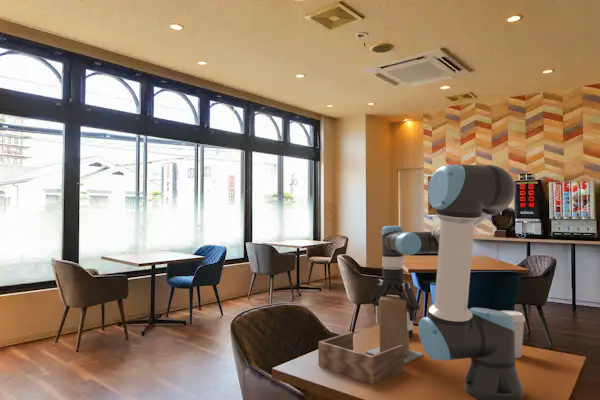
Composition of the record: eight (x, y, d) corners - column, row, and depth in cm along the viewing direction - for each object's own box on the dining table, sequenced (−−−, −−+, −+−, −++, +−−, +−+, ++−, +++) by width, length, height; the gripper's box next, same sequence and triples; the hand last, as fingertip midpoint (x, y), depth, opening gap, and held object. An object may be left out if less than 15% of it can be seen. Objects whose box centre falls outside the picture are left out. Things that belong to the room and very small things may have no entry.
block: (408, 357, 149) (407, 300, 150) (379, 355, 152) (378, 298, 153) (409, 349, 159) (408, 295, 159) (381, 347, 161) (381, 294, 162)
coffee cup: (500, 358, 149) (498, 315, 150) (494, 350, 159) (493, 309, 159) (529, 360, 147) (528, 316, 148) (522, 351, 157) (521, 310, 157)
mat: (423, 355, 154) (423, 353, 154) (403, 364, 145) (403, 362, 145) (386, 345, 166) (386, 344, 166) (365, 353, 157) (365, 351, 157)
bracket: (404, 369, 139) (403, 345, 140) (372, 384, 128) (371, 357, 128) (351, 354, 156) (350, 332, 156) (318, 365, 144) (318, 341, 145)
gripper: (428, 269, 150) (430, 330, 149) (371, 264, 168) (372, 318, 167) (417, 271, 145) (418, 334, 144) (359, 266, 163) (360, 322, 162)
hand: (394, 326), depth 156 cm, fingers closed on block, 13 cm apart
